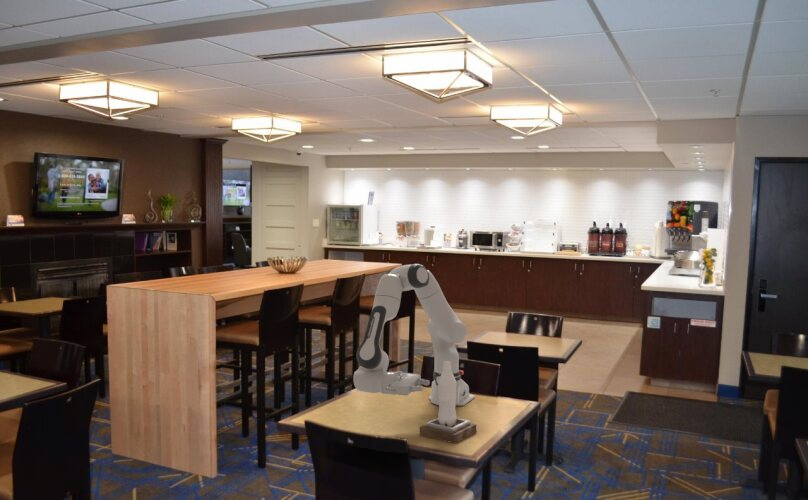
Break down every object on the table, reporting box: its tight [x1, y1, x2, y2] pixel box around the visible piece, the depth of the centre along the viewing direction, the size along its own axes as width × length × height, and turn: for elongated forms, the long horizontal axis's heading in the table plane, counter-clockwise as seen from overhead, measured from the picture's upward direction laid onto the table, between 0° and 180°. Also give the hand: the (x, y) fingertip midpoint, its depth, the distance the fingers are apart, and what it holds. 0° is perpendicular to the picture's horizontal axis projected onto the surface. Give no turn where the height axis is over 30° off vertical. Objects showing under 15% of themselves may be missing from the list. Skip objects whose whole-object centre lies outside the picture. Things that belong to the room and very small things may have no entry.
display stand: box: [419, 417, 477, 444], centre depth 253 cm, size 16×16×4 cm
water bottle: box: [437, 361, 457, 427], centre depth 252 cm, size 7×7×25 cm
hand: (426, 385), depth 255 cm, fingers open, 8 cm apart
